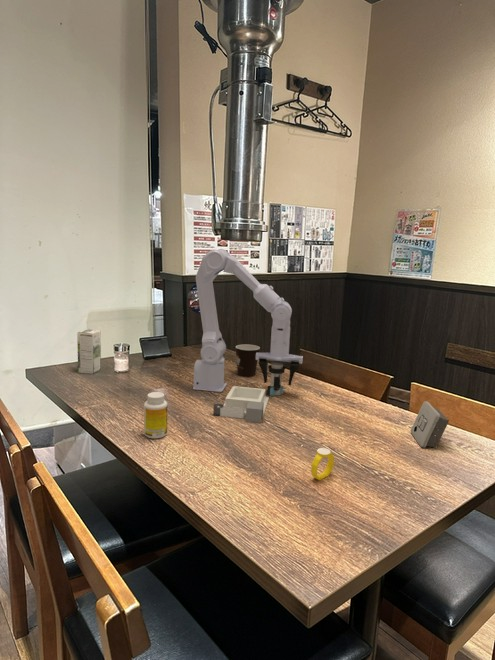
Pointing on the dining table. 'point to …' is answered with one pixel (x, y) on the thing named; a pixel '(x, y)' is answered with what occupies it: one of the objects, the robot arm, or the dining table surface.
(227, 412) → the pin
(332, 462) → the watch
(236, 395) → the dock
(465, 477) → the dining table surface
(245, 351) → the coffee mug
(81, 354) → the syrup box
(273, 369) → the push button
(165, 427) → the supplement bottle
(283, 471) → the dining table surface
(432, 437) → the electrical switch
